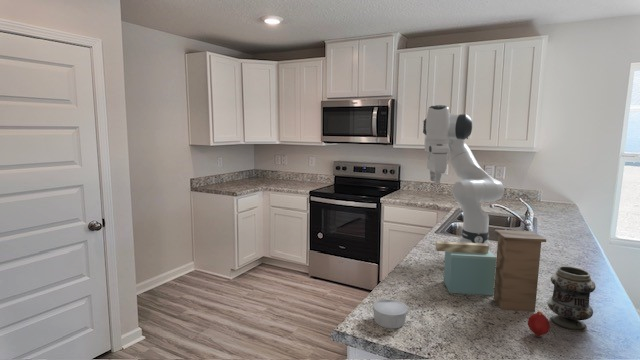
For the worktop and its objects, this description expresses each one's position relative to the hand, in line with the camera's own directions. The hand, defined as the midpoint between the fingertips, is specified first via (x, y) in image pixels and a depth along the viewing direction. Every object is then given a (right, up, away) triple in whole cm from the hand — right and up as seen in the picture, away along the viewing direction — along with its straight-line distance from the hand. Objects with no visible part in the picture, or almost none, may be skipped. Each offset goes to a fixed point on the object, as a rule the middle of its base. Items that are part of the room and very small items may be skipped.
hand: (434, 182), depth 143 cm
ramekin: (-23, -45, -26) cm, 57 cm away
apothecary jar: (+35, -46, -26) cm, 63 cm away
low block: (+13, -42, 0) cm, 44 cm away
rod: (+10, -27, -1) cm, 28 cm away
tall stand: (+24, -44, -14) cm, 51 cm away
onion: (+21, -46, -33) cm, 61 cm away
